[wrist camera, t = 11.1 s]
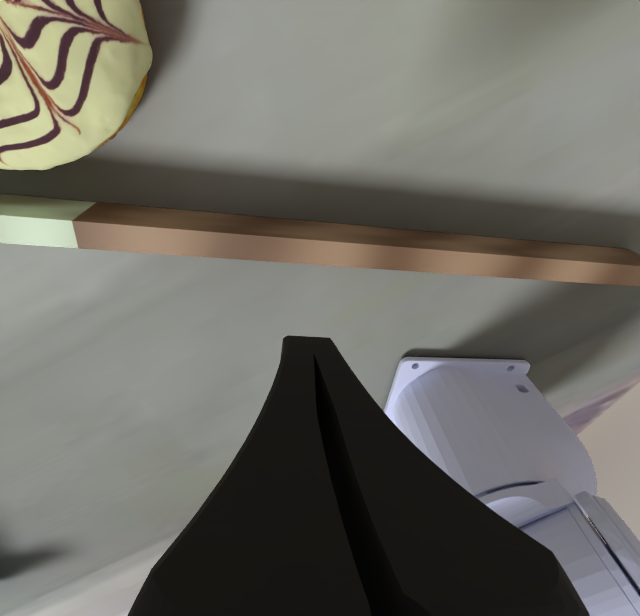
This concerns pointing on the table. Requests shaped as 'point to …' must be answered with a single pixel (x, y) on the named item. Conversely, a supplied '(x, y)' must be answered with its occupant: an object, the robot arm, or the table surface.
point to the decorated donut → (67, 77)
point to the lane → (304, 242)
